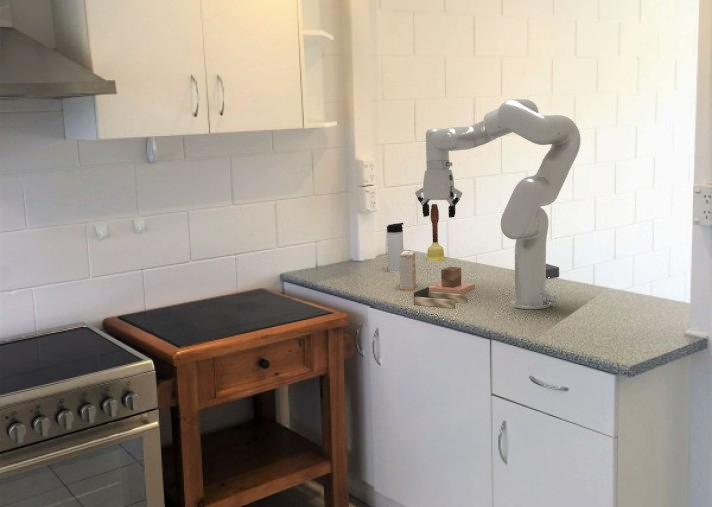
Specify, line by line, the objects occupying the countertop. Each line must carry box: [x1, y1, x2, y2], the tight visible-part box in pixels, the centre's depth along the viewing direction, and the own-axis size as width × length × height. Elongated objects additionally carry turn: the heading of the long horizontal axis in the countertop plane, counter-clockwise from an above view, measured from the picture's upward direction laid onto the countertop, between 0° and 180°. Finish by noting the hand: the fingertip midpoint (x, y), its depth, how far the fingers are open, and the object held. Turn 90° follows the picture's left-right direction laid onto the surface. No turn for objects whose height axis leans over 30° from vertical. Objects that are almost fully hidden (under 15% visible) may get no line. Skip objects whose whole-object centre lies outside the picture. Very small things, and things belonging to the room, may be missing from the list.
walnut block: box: [440, 266, 463, 288], centre depth 276 cm, size 4×6×6 cm
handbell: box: [425, 203, 447, 262], centre depth 330 cm, size 12×12×25 cm
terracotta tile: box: [428, 282, 476, 295], centre depth 277 cm, size 12×12×2 cm
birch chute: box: [413, 286, 468, 309], centre depth 258 cm, size 15×9×4 cm, turn 56°
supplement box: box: [399, 250, 417, 291], centre depth 283 cm, size 8×5×13 cm, turn 168°
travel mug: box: [386, 222, 405, 273], centre depth 312 cm, size 6×7×20 cm
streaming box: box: [546, 263, 560, 280], centre depth 293 cm, size 13×13×4 cm
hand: (438, 216), depth 271 cm, fingers open, 9 cm apart
